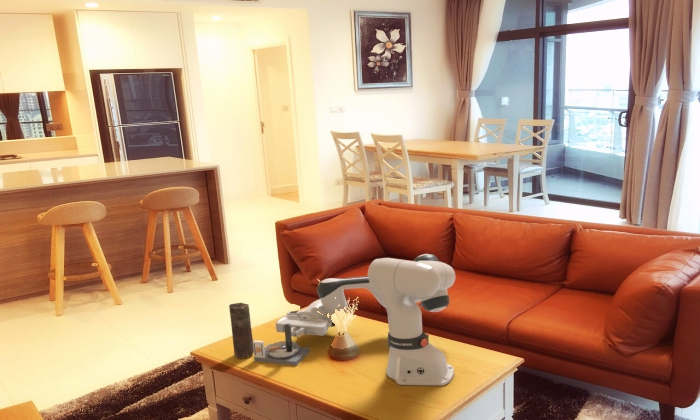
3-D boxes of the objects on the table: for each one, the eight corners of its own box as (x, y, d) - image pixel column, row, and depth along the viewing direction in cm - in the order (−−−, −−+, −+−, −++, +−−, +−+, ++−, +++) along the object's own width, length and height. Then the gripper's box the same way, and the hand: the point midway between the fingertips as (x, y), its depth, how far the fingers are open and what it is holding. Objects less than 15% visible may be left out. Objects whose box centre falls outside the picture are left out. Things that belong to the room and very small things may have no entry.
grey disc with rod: (298, 358, 205) (296, 326, 203) (266, 360, 205) (263, 328, 203) (299, 344, 217) (297, 314, 215) (269, 347, 216) (266, 317, 214)
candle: (232, 353, 216) (227, 303, 213) (251, 349, 219) (246, 299, 216) (237, 361, 210) (231, 309, 206) (256, 356, 213) (251, 305, 209)
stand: (310, 351, 214) (308, 332, 212) (295, 366, 202) (293, 346, 201) (269, 347, 220) (268, 329, 218) (253, 362, 208) (251, 342, 206)
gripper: (334, 330, 219) (320, 345, 207) (286, 326, 226) (269, 340, 214) (332, 314, 218) (318, 328, 205) (284, 311, 225) (268, 324, 212)
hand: (293, 334), depth 210 cm, fingers closed
